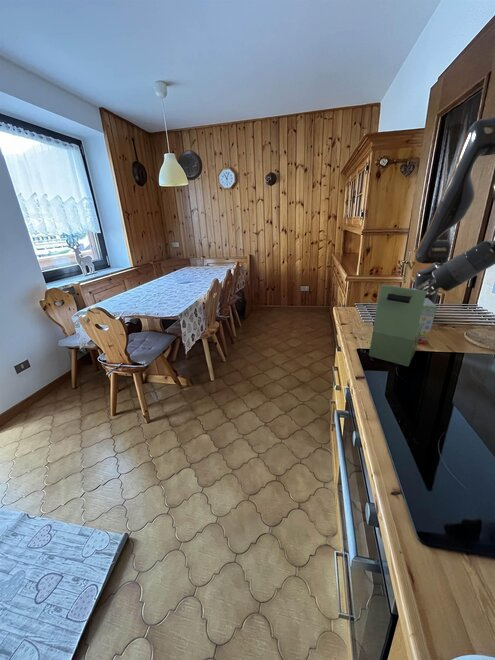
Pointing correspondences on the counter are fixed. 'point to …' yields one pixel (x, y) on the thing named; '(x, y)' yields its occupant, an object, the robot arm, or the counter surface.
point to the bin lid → (399, 311)
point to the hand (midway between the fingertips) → (402, 303)
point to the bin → (394, 347)
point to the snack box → (426, 319)
